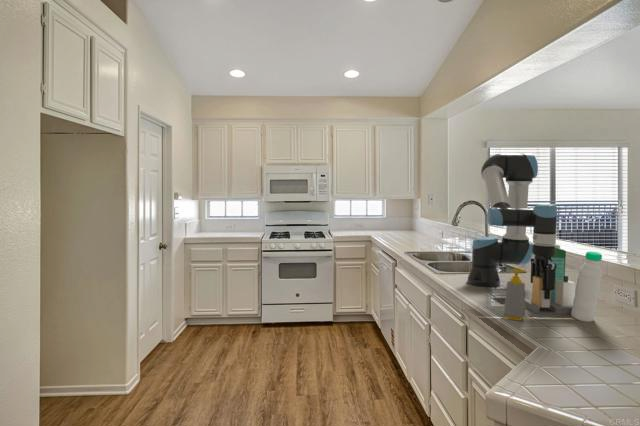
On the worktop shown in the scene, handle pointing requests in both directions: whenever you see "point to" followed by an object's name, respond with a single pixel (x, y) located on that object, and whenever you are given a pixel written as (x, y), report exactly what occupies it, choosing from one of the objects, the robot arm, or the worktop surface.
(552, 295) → the milk carton
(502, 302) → the mat
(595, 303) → the water bottle
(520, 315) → the soap bottle
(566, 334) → the worktop surface
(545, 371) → the worktop surface
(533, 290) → the plug
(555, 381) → the worktop surface
